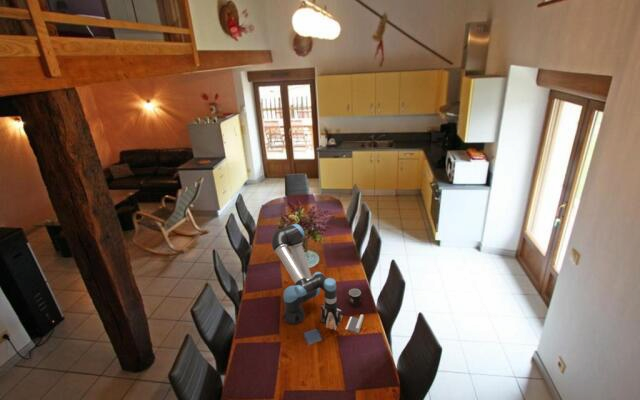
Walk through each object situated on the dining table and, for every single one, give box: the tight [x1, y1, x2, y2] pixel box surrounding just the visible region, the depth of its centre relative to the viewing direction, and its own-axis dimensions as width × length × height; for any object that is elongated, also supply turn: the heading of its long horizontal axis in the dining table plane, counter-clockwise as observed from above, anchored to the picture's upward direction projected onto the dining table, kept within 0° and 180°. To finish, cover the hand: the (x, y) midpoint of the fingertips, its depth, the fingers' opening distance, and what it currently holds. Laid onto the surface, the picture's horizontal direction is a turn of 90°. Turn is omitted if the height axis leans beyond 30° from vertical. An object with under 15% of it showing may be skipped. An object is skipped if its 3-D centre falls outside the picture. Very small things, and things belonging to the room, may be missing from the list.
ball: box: [328, 321, 334, 330], centre depth 222 cm, size 5×5×5 cm
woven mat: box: [302, 328, 323, 346], centre depth 219 cm, size 10×11×2 cm
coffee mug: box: [348, 288, 365, 307], centre depth 243 cm, size 12×9×10 cm
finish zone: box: [345, 314, 364, 334], centre depth 226 cm, size 9×13×4 cm
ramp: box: [319, 309, 344, 327], centre depth 232 cm, size 13×9×6 cm
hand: (331, 327), depth 223 cm, fingers closed on ball, 5 cm apart
